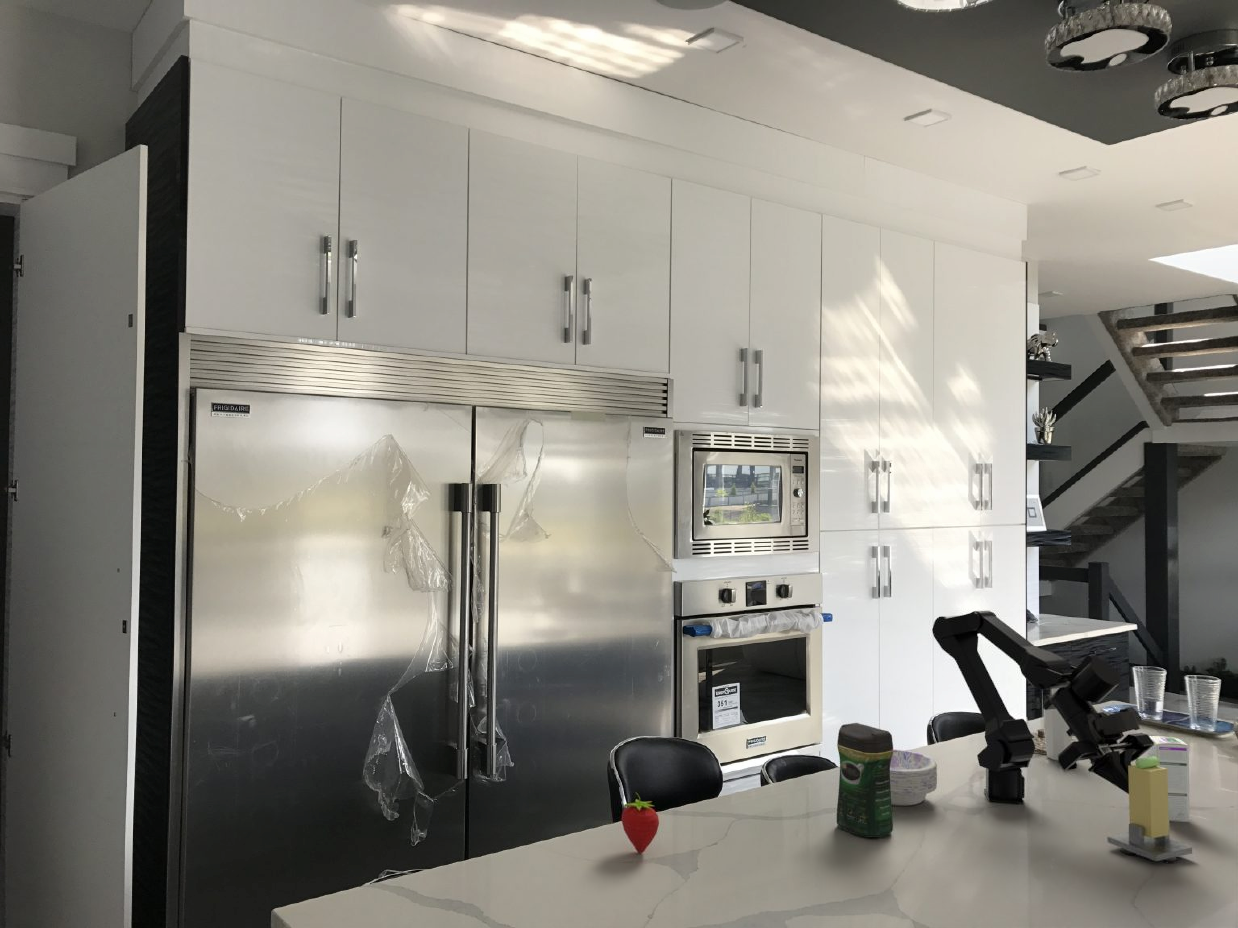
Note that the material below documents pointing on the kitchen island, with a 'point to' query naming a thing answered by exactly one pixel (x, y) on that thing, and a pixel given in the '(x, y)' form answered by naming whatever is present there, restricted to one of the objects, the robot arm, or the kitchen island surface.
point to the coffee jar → (865, 780)
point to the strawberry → (640, 824)
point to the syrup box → (1174, 774)
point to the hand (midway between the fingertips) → (1136, 795)
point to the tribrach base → (1149, 845)
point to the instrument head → (1149, 796)
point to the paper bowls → (911, 777)
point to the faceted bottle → (1055, 732)
